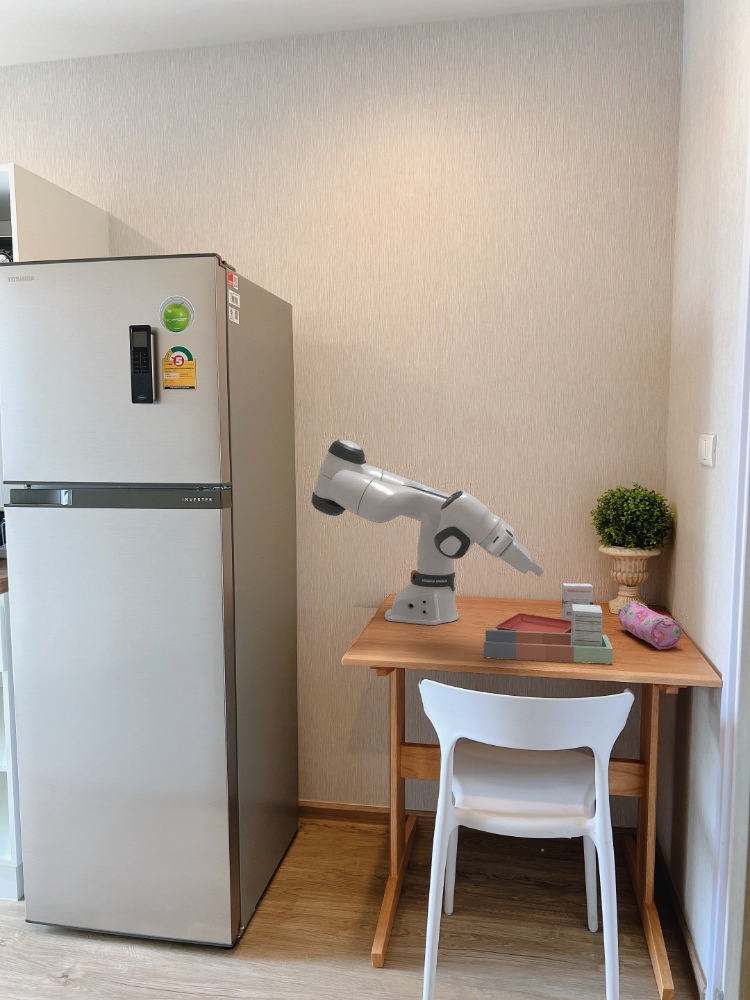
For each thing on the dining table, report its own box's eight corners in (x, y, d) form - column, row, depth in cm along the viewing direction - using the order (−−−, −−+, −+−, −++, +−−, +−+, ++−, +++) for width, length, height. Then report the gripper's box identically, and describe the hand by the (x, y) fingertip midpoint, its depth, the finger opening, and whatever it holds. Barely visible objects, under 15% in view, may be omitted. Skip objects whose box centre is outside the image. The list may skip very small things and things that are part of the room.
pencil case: (615, 629, 215) (616, 599, 214) (646, 629, 216) (647, 598, 215) (649, 652, 194) (650, 618, 193) (683, 651, 194) (684, 617, 194)
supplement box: (570, 651, 195) (571, 603, 193) (599, 652, 193) (601, 604, 192) (571, 659, 187) (572, 610, 186) (601, 661, 186) (603, 611, 184)
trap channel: (483, 658, 189) (484, 642, 188) (485, 643, 201) (485, 629, 201) (612, 664, 183) (612, 648, 183) (605, 649, 195) (606, 634, 195)
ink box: (590, 621, 223) (591, 582, 222) (593, 626, 218) (594, 586, 217) (561, 621, 224) (561, 582, 223) (563, 625, 219) (564, 586, 218)
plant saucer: (578, 632, 213) (578, 620, 213) (557, 648, 198) (557, 636, 198) (518, 623, 223) (518, 612, 223) (494, 638, 208) (494, 626, 207)
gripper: (489, 541, 200) (529, 573, 199) (491, 555, 180) (536, 591, 179) (504, 523, 199) (544, 556, 198) (508, 535, 179) (553, 572, 178)
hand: (541, 573), depth 189 cm, fingers closed
